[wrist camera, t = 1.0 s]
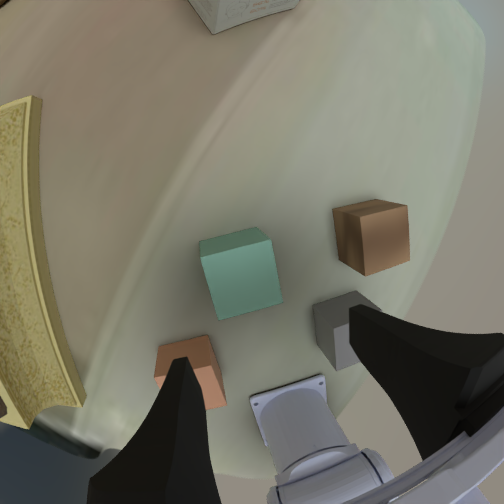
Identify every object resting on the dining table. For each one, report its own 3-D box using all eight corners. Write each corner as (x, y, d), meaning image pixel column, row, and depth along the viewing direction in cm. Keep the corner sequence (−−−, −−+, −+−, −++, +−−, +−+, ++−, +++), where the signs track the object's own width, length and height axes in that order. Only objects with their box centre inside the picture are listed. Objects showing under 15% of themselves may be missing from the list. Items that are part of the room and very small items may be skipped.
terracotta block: (221, 372, 25) (227, 405, 21) (176, 382, 25) (175, 415, 20) (207, 334, 24) (211, 365, 20) (158, 345, 23) (154, 377, 19)
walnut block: (379, 246, 25) (409, 260, 21) (338, 259, 24) (365, 276, 20) (375, 199, 24) (407, 205, 19) (331, 208, 23) (359, 217, 19)
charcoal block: (357, 329, 27) (380, 352, 23) (317, 344, 26) (336, 371, 22) (355, 290, 26) (382, 310, 21) (312, 304, 25) (333, 328, 21)
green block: (267, 279, 24) (283, 302, 19) (213, 294, 23) (218, 320, 19) (256, 226, 22) (271, 239, 18) (199, 241, 22) (200, 257, 17)
